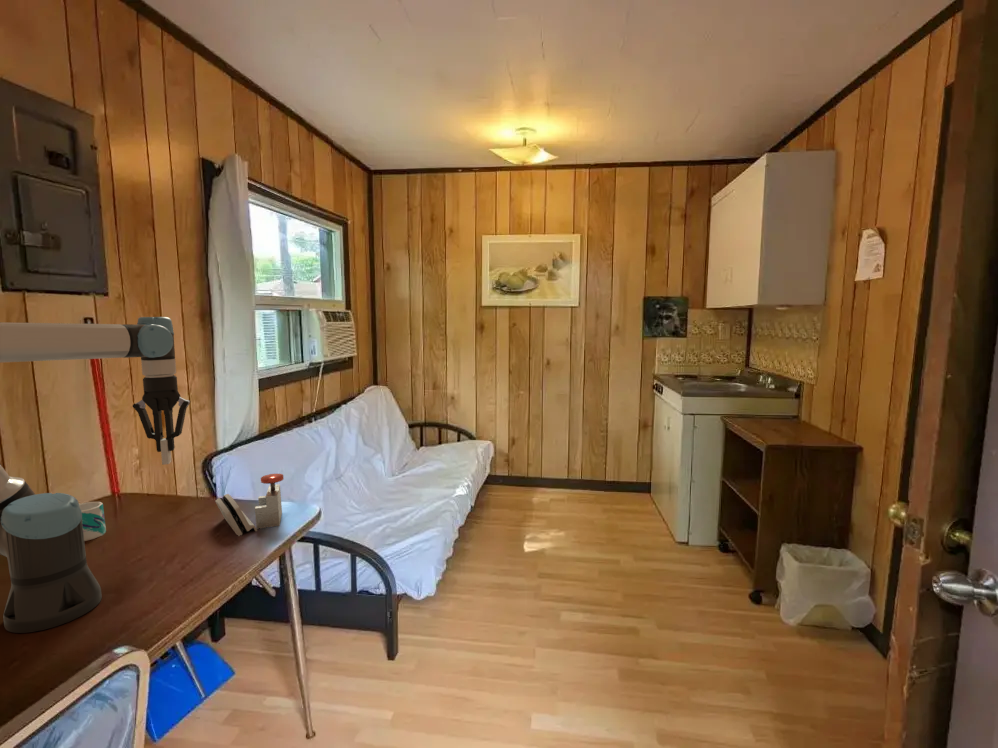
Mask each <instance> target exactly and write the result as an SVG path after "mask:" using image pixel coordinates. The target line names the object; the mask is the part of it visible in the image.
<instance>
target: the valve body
mask: <svg viewBox="0 0 998 748" xmlns="http://www.w3.org/2000/svg"><path fill="white" fill-rule="evenodd" d="M283 480H284V474H283V473H270V474H266V475H263V476H261V477H260V483H262V484H265V485H266V484H267V485H268V484H270V485H268V488H267V491H266V495H261V496H258V498H257V499H258V500H257V501H258V505H256V506H254V515H255V527H256V529H257V530H260V529H267V528H274V527H280V526H281V519H282V515H283V509H282V506H283V505H282V497H281V496H282V495H281V484H280V483H279V482H282V481H283ZM276 483H279V484H276ZM266 527H267V528H266ZM259 528H260V529H259Z"/></svg>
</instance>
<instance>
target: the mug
mask: <svg viewBox="0 0 998 748" xmlns="http://www.w3.org/2000/svg"><path fill="white" fill-rule="evenodd" d="M79 506H80V510H81V511H82V525H83V534H84V542H86V541H90V540H91V541H92V540H94V539H96V538H99V537H102V536H104V535H105V534H106V532H107V527H106V519H105V511H104V504H103V502H101V501H87V502H86V501H85V502H82V503H79Z"/></svg>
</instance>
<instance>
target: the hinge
mask: <svg viewBox="0 0 998 748" xmlns="http://www.w3.org/2000/svg"><path fill="white" fill-rule="evenodd" d="M214 502H215V503H216V504H215V505H217V508H218V509H219V511H220V513H221V515H222V516H223V518H224V520H225V521H226V522H227V524H228V526H230V528H231V529H232V530H233V532H234V533H235V535H238V536H237V537H241V536H242V535H243V533H244V531H245V532H250V530H252V529H253V531H255V532H258V529H256V524H254V523H253V521H251V519H250V518H249V517H248V516H247V515H246V514H245V513H244V511H242V509H241V508H240V506H239V505H238V503H237V502H236V500H235V499H234V498H233V496H231V495H230V494H229V493H227V494H223V496H222V498H221V497H218V498H217V499H216V500H215V501H214ZM240 535H241V536H240Z"/></svg>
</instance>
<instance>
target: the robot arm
mask: <svg viewBox="0 0 998 748" xmlns="http://www.w3.org/2000/svg"><path fill="white" fill-rule="evenodd" d="M175 351H176V350H175V331H174V325H173V321H172V319H171V318H170V317H167V316H140V317H138V318H137V323H136V324H129V323H128V324H126V323H125V324H121V323H114V324H113V323H71V322H70V323H64V322H63V323H62V322H61V323H60V322H53V323H52V322H6V321H5V322H0V363H18V362H19V363H20V362H21V363H23V362H43V361H49V362H50V361H65V360H66V361H72V360H93V359H95V360H97V359H99V360H100V359H120V358H123V359H125V358H128V359H130V358H140V361H141V374H142V376H144V377H143V378H142V385H143V395H142V397H141V400H140V401H138V402H135V403H133V404H132V408H133V409H134V410H135V411H136V412H137V415H138V417H139V419H140V423H141V424H142V425H141V426H142V427H143V429H144V433H145V435H146V437H147V439H152V440H155V445H156V451H157V453H160V454H161V455H160V456H161V465H170V463H172V452H173V451H174V450H175V447H176V446H175V438H176V437H177V438H178V437H179V436H180V435H182V433H183V429H184V428H183V427H184V424H185V423H184V422H185V417H186V413H187V408H188V406H189V405H190V404H191V400H189V399H185V398H183V397H181V394H180V392H179V388H178V387H179V386H178V377H177V376H176V374H177V364H176V352H175ZM177 403H178V406H179V409H178V413H177V418H176V423H175V427H174V419H173V417H174V416H173V412H174V411H173V408H175V406H176V405H177ZM146 407H148V408H149V409H150V410H151V411H152V413H151V414H152V416H153V425H152V422H151V420H150V416H149V414H148V412H147V409H146ZM162 412H163V413H162ZM162 414H163V415H164V422H165V435H164V430H163V417H162V416H163V415H162ZM79 504H80V503H79V501H78V499H77V498H76V497H75V496H73V495H71V494H68V493H62V492H55V493H52V492H43V493H37V494H36V493H35V491H34V490H33V489H32V488H31V486H30V485H29V484H28V482H27V481H26V480H25V479H24V478H23V477H19V476H18V477H17V476H10V475H9V473H8V472H7V471H6V470H5V468H4V467H3V466H2V465H1V464H0V555H1V556H4V557H6V558H7V564H8V570H9V577H10V589H9V593H8V597H7V600H6V604H5V608H4V609H3V610H4V611H3V614H2V616H3V617H2V618H3V626H4V629H5V630H6V631H8V632H9V633H16V634H19V633H20V634H24V633H25V634H26V633H33V632H39V631H43V630H48V629H52V628H56V627H58V626H62V625H64V624H67V623H69V622H71V621H74V620H76V619H78V618H80V617H82V616H83V615H86V614H87V613H89V612H91V611H92V610H93V609H95V608H96V607H97V606H98V605H99V604H100V603H101V601H102V598H103V595H102V588H101V586H100V583H99V582H98V579H96V577H95V576H94V574H93V571H91V569H90V567H89V566H88V561H87V553H86V544H85V541H84V534H83V525H82V511H81V510H80V506H79Z"/></svg>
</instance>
